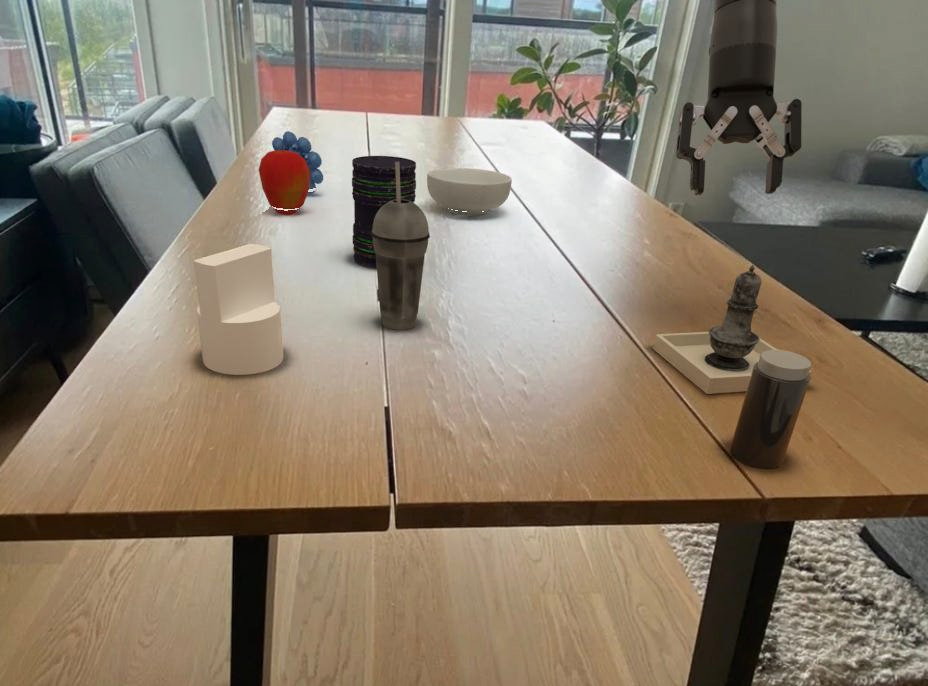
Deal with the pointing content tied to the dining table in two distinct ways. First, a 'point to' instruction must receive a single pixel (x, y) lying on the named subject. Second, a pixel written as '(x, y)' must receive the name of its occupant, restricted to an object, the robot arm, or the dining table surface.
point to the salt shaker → (736, 326)
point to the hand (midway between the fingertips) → (734, 193)
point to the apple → (284, 180)
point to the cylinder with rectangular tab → (238, 311)
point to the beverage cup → (399, 259)
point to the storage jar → (376, 197)
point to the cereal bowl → (468, 189)
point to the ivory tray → (690, 361)
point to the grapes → (303, 149)
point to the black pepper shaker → (770, 408)
